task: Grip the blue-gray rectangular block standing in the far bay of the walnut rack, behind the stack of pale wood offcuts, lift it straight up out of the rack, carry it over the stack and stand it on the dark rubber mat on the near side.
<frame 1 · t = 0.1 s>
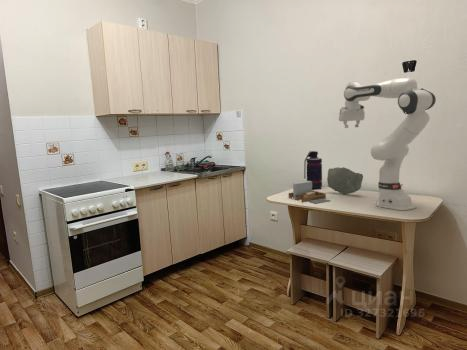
hand: (351, 127, 224), 48 cm above the table, fingers open, 8 cm apart
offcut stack: (309, 199, 228), resting in rack
rack: (306, 198, 231), on the table
mat: (319, 201, 220), on the table
blue-gray rectangular block: (302, 197, 235), resting in rack
grenade: (313, 188, 266), on the table
rock: (344, 194, 237), on the table
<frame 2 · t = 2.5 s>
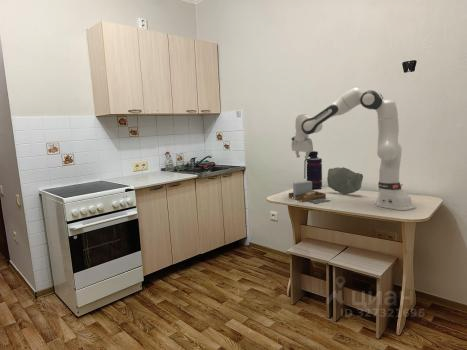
hand: (302, 157, 231), 28 cm above the table, fingers open, 8 cm apart
nothing on the table moved.
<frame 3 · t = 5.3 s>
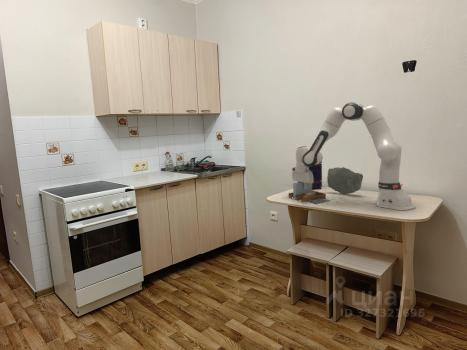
hand: (302, 188, 234), 7 cm above the table, fingers closed on blue-gray rectangular block, 3 cm apart
blue-gray rectangular block: (302, 197, 235), resting in rack, touching gripper
everything else where it was.
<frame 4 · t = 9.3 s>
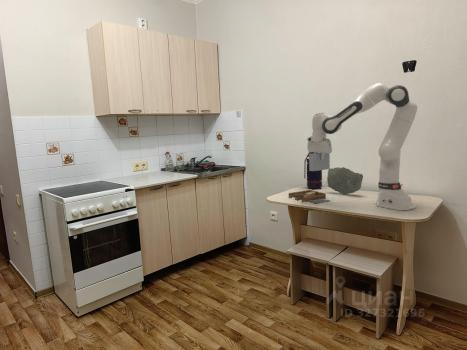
hand: (319, 159, 216), 28 cm above the table, fingers closed on blue-gray rectangular block, 3 cm apart
blue-gray rectangular block: (319, 169, 217), point 21 cm above the table, touching gripper
everything else where it was.
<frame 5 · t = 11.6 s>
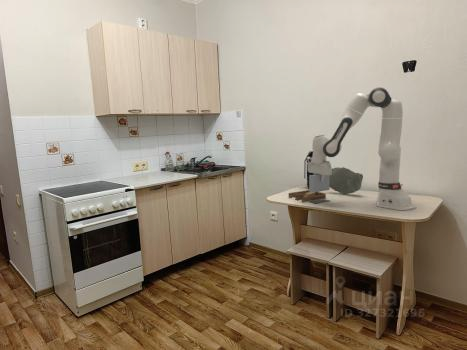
hand: (319, 180, 218), 14 cm above the table, fingers closed on blue-gray rectangular block, 3 cm apart
blue-gray rectangular block: (319, 190, 219), point 7 cm above the table, touching gripper
everything else where it was.
when the fingers open (8 cm above the table, at t = 13.6 s): blue-gray rectangular block stays where it is, resting on mat.
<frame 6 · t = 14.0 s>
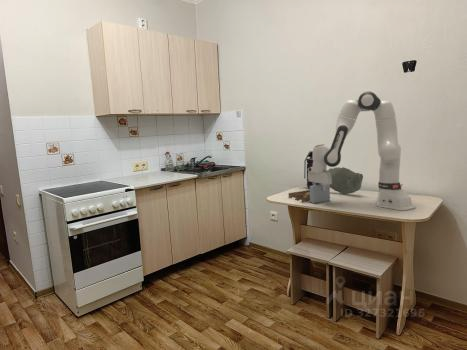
hand: (319, 189, 219), 8 cm above the table, fingers open, 7 cm apart
blue-gray rectangular block: (319, 201, 220), resting on mat
everything else where it was.
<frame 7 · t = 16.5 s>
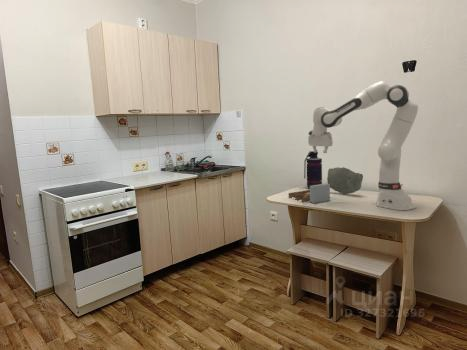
hand: (320, 152, 221), 32 cm above the table, fingers open, 8 cm apart
nothing on the table moved.
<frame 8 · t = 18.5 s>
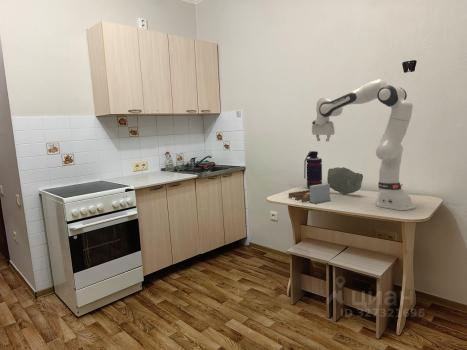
hand: (323, 141, 234), 39 cm above the table, fingers open, 8 cm apart
nothing on the table moved.
at the end: blue-gray rectangular block inside the target area (0.1 cm from its centre), resting on mat; blue-gray rectangular block tilted 0°; the gripper is holding nothing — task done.
